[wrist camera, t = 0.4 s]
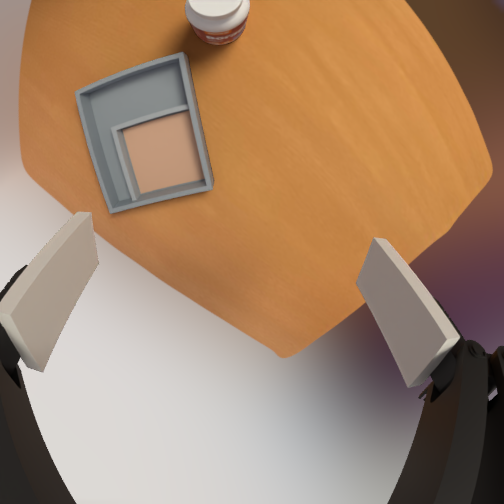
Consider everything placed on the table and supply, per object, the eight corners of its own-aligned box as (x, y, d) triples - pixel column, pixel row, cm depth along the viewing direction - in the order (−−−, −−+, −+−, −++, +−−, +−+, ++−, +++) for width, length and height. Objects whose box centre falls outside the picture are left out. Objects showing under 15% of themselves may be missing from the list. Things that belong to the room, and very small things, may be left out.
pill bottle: (208, 54, 27) (198, 36, 18) (185, 17, 24) (166, -11, 15) (255, 32, 26) (265, 7, 17) (231, -4, 23) (231, -40, 14)
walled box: (87, 90, 27) (74, 91, 25) (187, 55, 27) (183, 51, 24) (119, 203, 36) (110, 213, 33) (214, 181, 36) (212, 189, 33)
